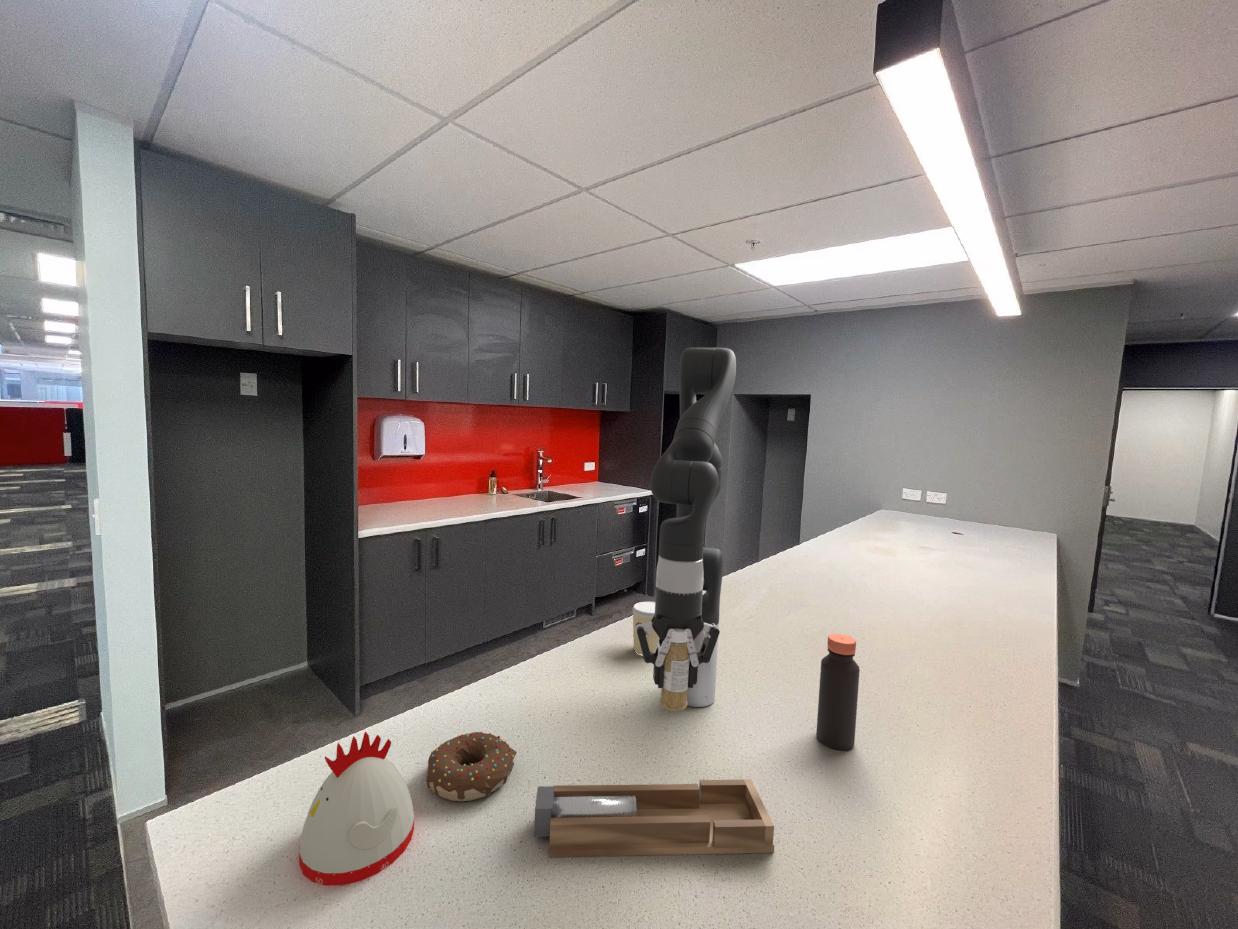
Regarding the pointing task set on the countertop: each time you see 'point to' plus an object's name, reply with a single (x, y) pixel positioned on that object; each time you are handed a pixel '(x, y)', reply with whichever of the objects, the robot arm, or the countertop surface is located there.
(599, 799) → the shaft
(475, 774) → the donut
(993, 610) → the countertop surface
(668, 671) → the sprinkles bottle
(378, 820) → the kitchen timer
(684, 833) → the tray
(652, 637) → the coffee cup
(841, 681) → the vinegar
